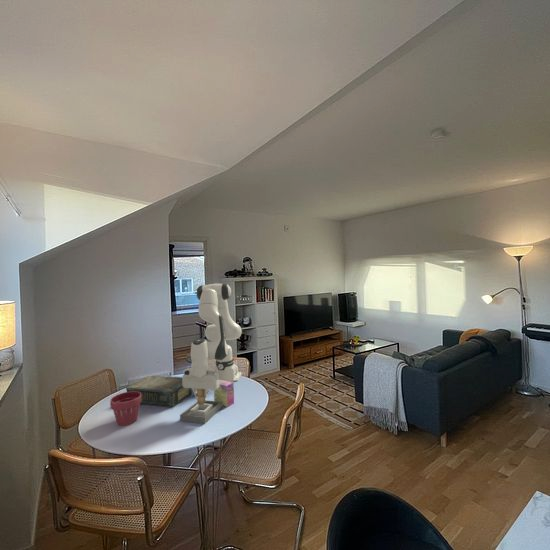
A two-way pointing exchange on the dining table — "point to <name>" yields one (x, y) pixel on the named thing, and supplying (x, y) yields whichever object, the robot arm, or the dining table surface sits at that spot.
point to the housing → (201, 412)
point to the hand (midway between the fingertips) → (201, 396)
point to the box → (225, 393)
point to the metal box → (160, 390)
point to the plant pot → (126, 407)
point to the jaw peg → (200, 396)
